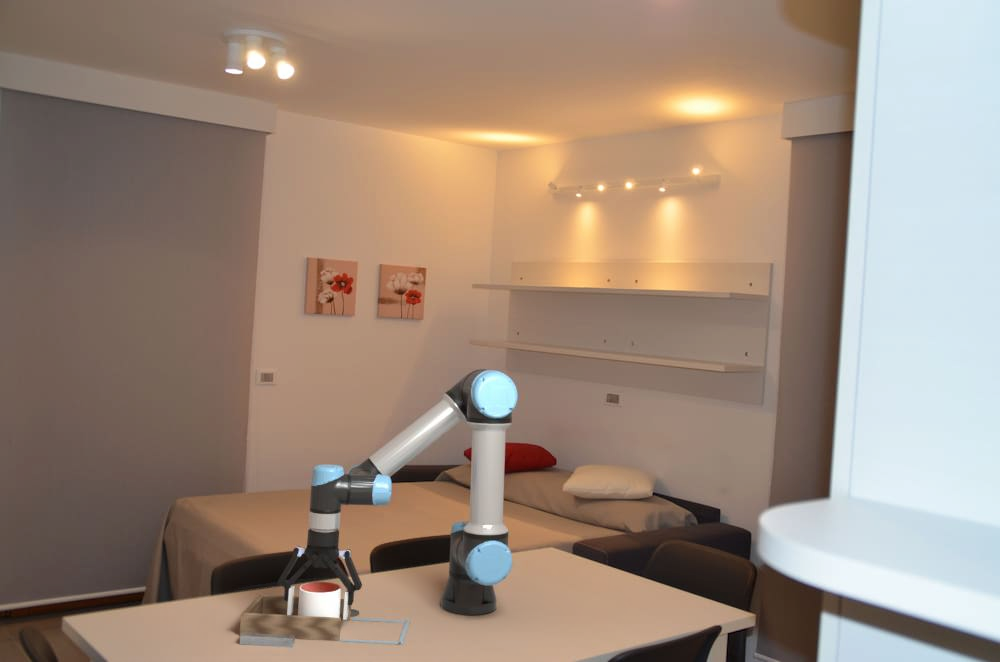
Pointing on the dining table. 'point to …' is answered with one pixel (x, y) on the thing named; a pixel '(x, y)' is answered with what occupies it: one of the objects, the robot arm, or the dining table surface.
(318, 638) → the cubby
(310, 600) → the cup
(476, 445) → the robot arm
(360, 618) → the pale blue bent rod
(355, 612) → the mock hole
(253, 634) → the hook bar
